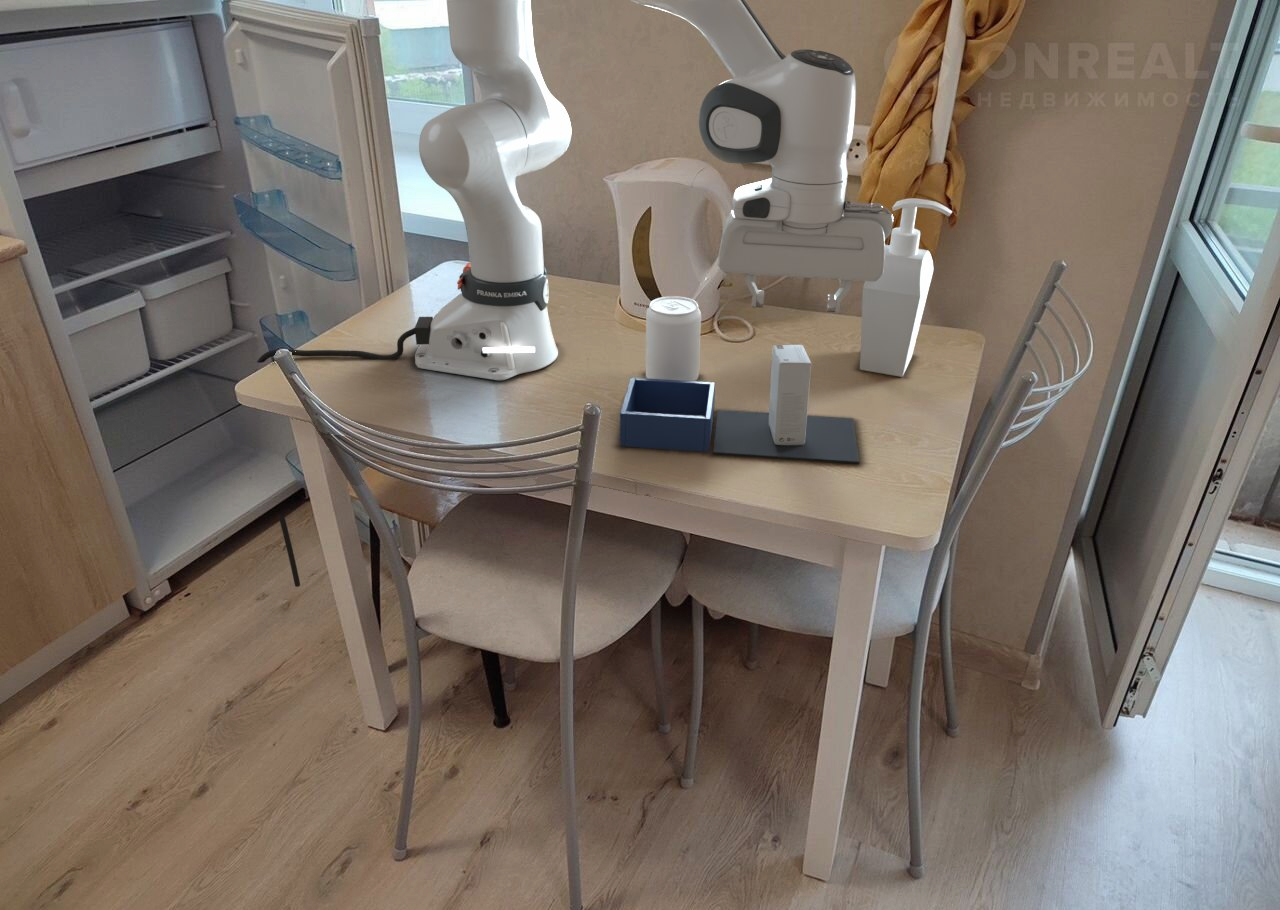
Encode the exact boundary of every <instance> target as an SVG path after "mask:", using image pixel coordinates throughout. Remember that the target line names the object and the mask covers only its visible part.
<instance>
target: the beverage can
mask: <svg viewBox="0 0 1280 910" xmlns="http://www.w3.org/2000/svg"><path fill="white" fill-rule="evenodd" d="M701 312H702V311H701V309H699V304H698V302H697V301H696V300H694V299H692V298H689V297H685V296H680V295H667V296H661V297H657V298H655V299H653V300H651V301H650V302H649V307H648V308H647V310H646V313H645V378H647V379H664V380H681V381H698V379H699V377H700V354H701V353H700V352H701V329H702V328H701V327H702V313H701Z"/></svg>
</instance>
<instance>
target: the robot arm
mask: <svg viewBox="0 0 1280 910" xmlns="http://www.w3.org/2000/svg"><path fill="white" fill-rule="evenodd" d="M630 1H631V2H634V3H636V4H638V5H642V6H646V7H650V8H653V9H657V10H661V11H663V12H666V13H670V14H672V15H673V16H676V17H679V18H681V19H683V20H685V21H687V22H688V23H690V24H691V25H692V26H694V27H695V28H696V29H697V30H698V31H699V32H700V33H701V34H702V35H703V36H704V37H705V39H706V40H707V41H708V43H709V44H710V46H711V47H712V49H713V50H714V52H715V53H716V54H717V56H718V58H719V59H720V60H721V61H722V63H723V65H724V66H725V67H726V69H727V70H728V72H729V73H730V74H731V76H732V77H733V78H730V79H727V80H725V81H723V82H721V83H719V84H717V85H716V86H714V87H713V88H711V90H709V91H708V92H707V94H706V95H705V96H704V98H703V100H702V102H701V105H700V109H699V112H698V129H699V133H700V137H701V139H702V143H703V144H704V146H705V148H706V149H707V150H708V152H709V153H710V154H711V155H712V156H713V157H714V158H715V159H717V160H719V161H721V162H723V163H727V164H738V165H739V164H743V165H744V164H755V163H756V164H757V163H768V164H769V165H770V167H771V178H768V179H765V180H761V181H756V182H753V183H749V184H745V185H742V186H741V185H740V187H738V188H736V189H735V191H734V193H733V195H732V200H731V208H732V210H731V211H730V212H729V213H728V214H727V217H726V219H725V221H724V225H723V229H722V233H721V238H720V244H719V250H718V257H717V258H718V259H717V266H718V268H719V269H720V270H721V271H722V273H724V274H734V275H735V274H737V275H740V274H741V275H744V277H745V278H744V283H745V285H746V287H747V288H748V291H749V292H750V294H751V308H757V309H758V308H761V309H763V308H764V306H765V305H764V303H765V290H760V289H758V287H757V284H756V283H757V278H758V276H768V277H769V276H770V277H771V276H772V277H786V278H787V277H788V278H805V279H822V280H823V279H824V280H838V282H839V288H838V289H837V291H835V294H827V302H826V312H827V313H837V314H838V313H840V310H841V309H840V308H841V301H843V300H844V298H845V297H846V296H847V295H848V293H849V292H850V291H851V290H852V288H853V287H852V286H853V281H855V282H865V281H872V282H874V281H877V280H878V279H879V278H880V277H881V276H882V275H883V272H884V263H885V245H886V242H885V241H886V240H887V239H889V237H890V236H891V234H892V229H893V224H894V216H893V214H892V212H891V210H890V209H889V208H887V207H885V206H883V204H882V203H879V202H871V203H870V202H869V203H866V202H860V201H848V200H847V201H846V200H845V199H846V191H847V184H848V175H849V171H848V165H847V155H848V151H849V149H850V145H851V144H852V141H853V137H854V129H855V120H856V119H855V118H856V104H857V82H856V75H855V71H854V69H853V67H852V66H851V64H850V63H849V62H847V60H845V59H844V58H843V57H840V56H838V55H836V54H834V53H830V52H828V51H827V52H826V51H823V50H814V49H807V48H805V49H804V48H803V49H802V48H801V49H797V50H793V51H791V52H789V53H788V54H787V55H785V54H784V53H783V52H782V51H781V50H780V49H779V48H778V47H779V46H777V45H776V44H775V42H774V41H773V39H772V38H771V37H770V35H769V32H767V31H766V29H765V27H764V26H763V24H762V23H761V22H760V20H759V19H758V17H757V15H756V14H755V13H754V12H753V10H752V8H751V7H750V6H749V4H748V2H747V1H746V0H630ZM446 8H447V9H446V11H447V21H448V32H449V45H450V48H451V51H452V53H453V55H454V57H455V59H457V61H459V62H460V63H461V64H462V65H464V66H465V67H467V68H469V69H470V70H471V71H472V72H473V74H474V76H475V79H476V81H477V83H478V87H479V89H480V94H481V101H477V102H472V103H468V104H463V105H459V106H454V107H452V108H450V109H447V110H446V111H444V112H442V113H440V114H438V115H436V116H434V117H432V118H431V119H429V120H428V121H427V122H426V123H425V124H424V125H423V127H422V129H421V132H420V135H419V141H418V151H419V158H420V161H421V164H422V166H423V168H424V170H425V172H426V174H427V176H429V178H430V179H431V180H432V181H433V182H434V183H435V184H436V185H438V187H440V188H442V189H444V190H445V191H446V192H448V194H449V195H450V196H451V197H452V199H453V200H454V202H455V203H456V205H457V208H458V209H459V212H460V214H461V216H462V219H463V222H464V227H465V231H466V232H465V233H466V239H467V245H468V254H469V255H468V256H469V262H467V263H466V265H465V266H464V267H463V269H462V273H460V275H459V277H458V278H459V279H458V280H457V282H456V283H457V284H456V285H457V290H458V291H459V290H460V293H459V294H458V295H455V297H454V298H453V299H451V300H450V301H448V303H446V304H445V305H443V306H442V307H441V308H440V309H439V310H437V312H436V313H435V314H434V315H433V316H419V317H418V318H417V322H416V323H415V325H414V327H413V328H412V329H409V330H407V331H405V332H403V333H402V334H401V335H400V336H399V337H398V339H397V342H396V349H397V350H396V352H394V353H391V354H377V353H373V352H368V351H364V350H363V351H362V350H347V349H346V350H345V349H341V350H340V349H314V350H313V349H312V350H309V349H307V350H305V349H303V350H302V349H292V348H287V349H288V350H289V351H291V352H292V355H291V356H295V357H357V358H364V359H370V360H396V359H398V358H400V357H402V355H403V353H404V344H405V341H407V339H408V338H410V337H412V336H414V335H415V342H416V343H415V344H416V345H418V347H417V349H416V351H415V354H414V362H415V366H416V367H417V368H418V369H422V370H428V371H435V372H442V373H447V374H454V375H460V376H466V377H474V378H480V379H487V380H493V381H506V380H508V379H511V378H513V377H515V376H517V375H520V374H524V373H525V374H526V373H529V372H533V371H537V370H540V369H543V368H545V367H547V366H549V365H551V364H552V363H553V362H555V360H556V359H557V358H558V356H559V350H558V347H557V345H556V341H555V339H554V338H555V337H554V335H553V331H552V327H551V322H550V317H549V316H550V315H549V311H548V304H549V299H550V295H549V293H550V292H549V291H550V290H549V279H548V273H547V272H548V271H547V268H546V267H545V265H544V247H543V228H542V221H541V219H540V217H539V216H538V214H537V213H536V212H535V211H533V209H532V208H530V207H528V206H527V205H525V204H522V201H521V200H520V197H519V194H518V190H517V186H516V180H517V177H521V176H523V175H526V174H530V173H533V172H537V171H540V170H542V169H544V168H546V167H548V166H549V165H551V164H552V163H554V162H555V161H556V160H558V159H559V158H560V157H562V156H564V154H565V153H566V152H567V150H568V149H569V146H570V144H571V139H572V125H571V120H570V117H569V114H568V112H567V110H566V108H565V107H564V105H563V104H562V103H561V102H560V101H559V99H557V98H556V97H555V96H554V95H553V94H552V93H551V92H550V89H548V86H547V84H546V81H544V80H545V79H544V78H543V75H542V73H541V69H540V66H539V62H538V60H537V55H536V49H535V43H534V30H533V18H532V2H531V0H446ZM279 349H280V348H276V349H272V350H268V351H265V352H264V353H263V354H261V356H259V358H258V359H257V361H256V363H259V364H261V363H264V362H266V361H267V360H268V359H270V358H272V357H274V355H275V353H276V351H277V350H279ZM295 351H296V352H295ZM275 356H276V355H275ZM277 515H278V521H279V524H280V528H281V531H282V535H283V540H284V544H285V548H286V552H287V557H288V560H289V565H290V569H291V574H292V577H293V582H294V587H296V588H298V587H300V586H301V581H300V576H299V573H298V572H299V571H298V567H297V562H296V558H295V554H294V550H293V545H292V542H291V541H292V540H291V537H290V533H289V529H288V525H287V522H286V517H285V515H282V514H277Z"/></svg>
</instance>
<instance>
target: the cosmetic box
mask: <svg viewBox="0 0 1280 910" xmlns="http://www.w3.org/2000/svg"><path fill="white" fill-rule="evenodd" d="M770 368H771V369H770V387H769V388H770V390H769V406H768V407H769V409H768V413H769V427H770V430H771V434H772V437H773V440H774V443H775V445H804V443H805V435H806V422H807V416H808V411H809V410H808V408H809V395H810V382H811V371H812V370H811V369H812V362H811V359H810V358H809V355H808V354H807V352H806V349H805V348H804V345H803V344H781V345H780V344H778V345H777V344H776V345H772V352H771V367H770Z"/></svg>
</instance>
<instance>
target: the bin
mask: <svg viewBox="0 0 1280 910" xmlns="http://www.w3.org/2000/svg"><path fill="white" fill-rule="evenodd" d="M715 392H716V382H712V381H711V382H710V381H698V380H696V381H681V380H664V379H647V377H630V380H629V383H628V385H627V389H626V393H625V395H624V399H623V403H622V406H621V409H620V413H619V440H620V441H619V442H620V443H619V446H620V447H627V448H640V449H656V450H670V451H671V450H673V451H688V452H699V453H700V452H702V453H703V452H704V453H710V446H711V440H712V439H711V438H712V432H713V431H712V430H713V421H714V413H715V412H714V411H715V394H716V393H715Z"/></svg>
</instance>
